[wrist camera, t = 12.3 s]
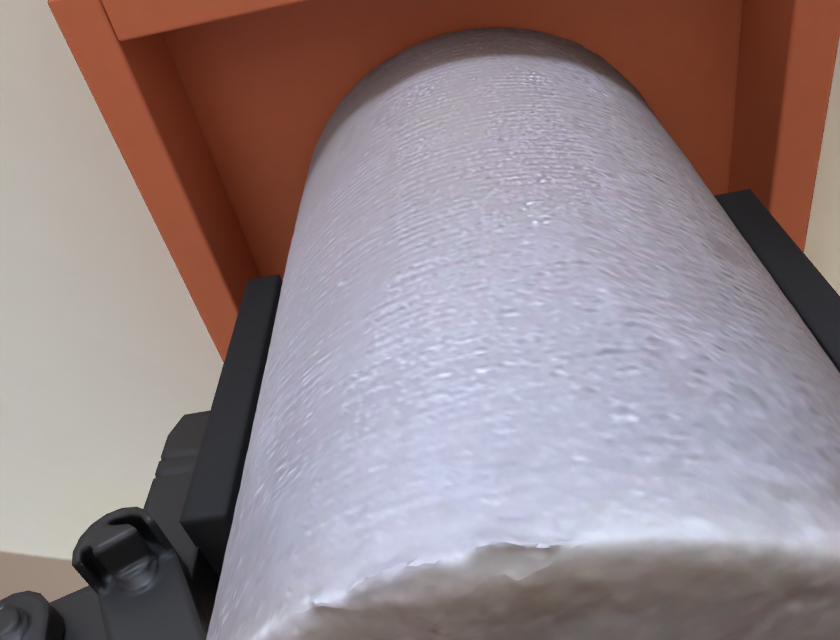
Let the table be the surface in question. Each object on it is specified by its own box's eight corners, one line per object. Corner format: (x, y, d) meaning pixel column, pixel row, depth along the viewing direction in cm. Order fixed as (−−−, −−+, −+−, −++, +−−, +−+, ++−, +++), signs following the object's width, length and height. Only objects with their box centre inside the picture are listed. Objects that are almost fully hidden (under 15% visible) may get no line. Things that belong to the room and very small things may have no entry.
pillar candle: (712, 253, 20) (1157, 935, 9) (421, 391, 23) (452, 1038, 11) (570, -73, 15) (1213, 526, 3) (219, 159, 18) (-106, 908, 6)
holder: (299, 415, 25) (287, 496, 22) (104, -41, 16) (44, 0, 13) (732, 346, 24) (777, 422, 21) (788, -199, 15) (878, -189, 12)
